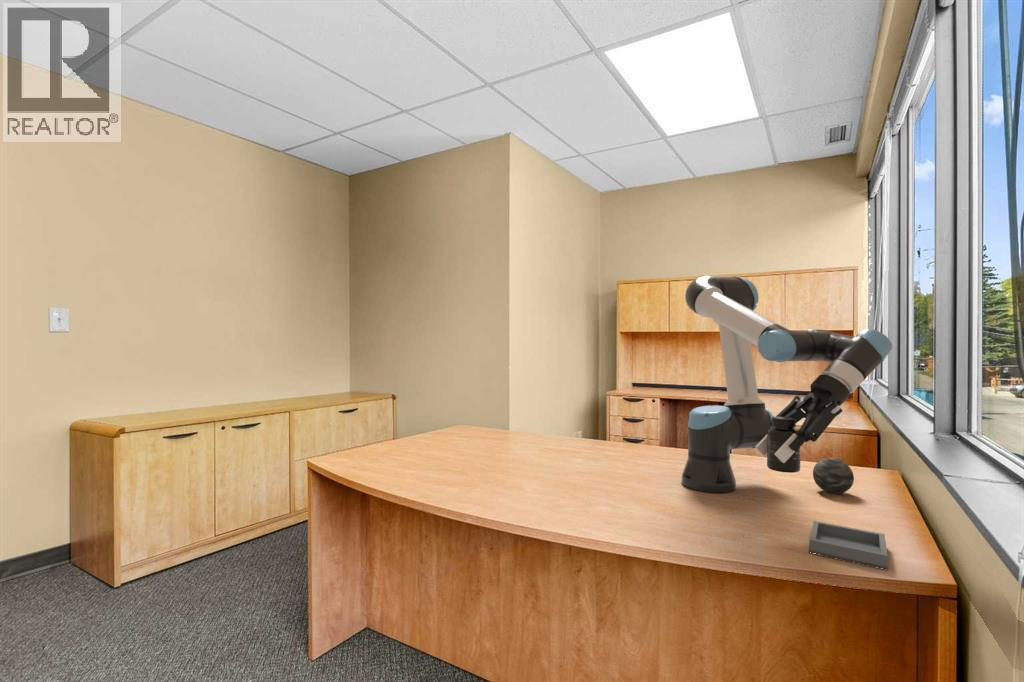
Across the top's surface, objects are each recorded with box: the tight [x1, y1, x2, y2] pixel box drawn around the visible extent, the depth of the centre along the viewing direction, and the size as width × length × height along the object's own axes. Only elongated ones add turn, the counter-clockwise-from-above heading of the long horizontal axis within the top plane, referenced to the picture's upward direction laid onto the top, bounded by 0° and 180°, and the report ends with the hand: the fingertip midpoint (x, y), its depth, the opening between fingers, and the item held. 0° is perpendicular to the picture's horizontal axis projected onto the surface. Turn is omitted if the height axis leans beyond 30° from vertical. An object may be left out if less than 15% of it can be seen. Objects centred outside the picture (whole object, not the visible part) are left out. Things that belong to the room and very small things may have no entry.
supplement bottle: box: [766, 416, 802, 474], centre depth 116 cm, size 7×7×12 cm
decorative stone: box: [812, 457, 855, 495], centre depth 144 cm, size 10×10×10 cm
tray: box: [808, 520, 889, 570], centre depth 106 cm, size 13×13×3 cm
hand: (769, 454), depth 116 cm, fingers closed on supplement bottle, 7 cm apart
